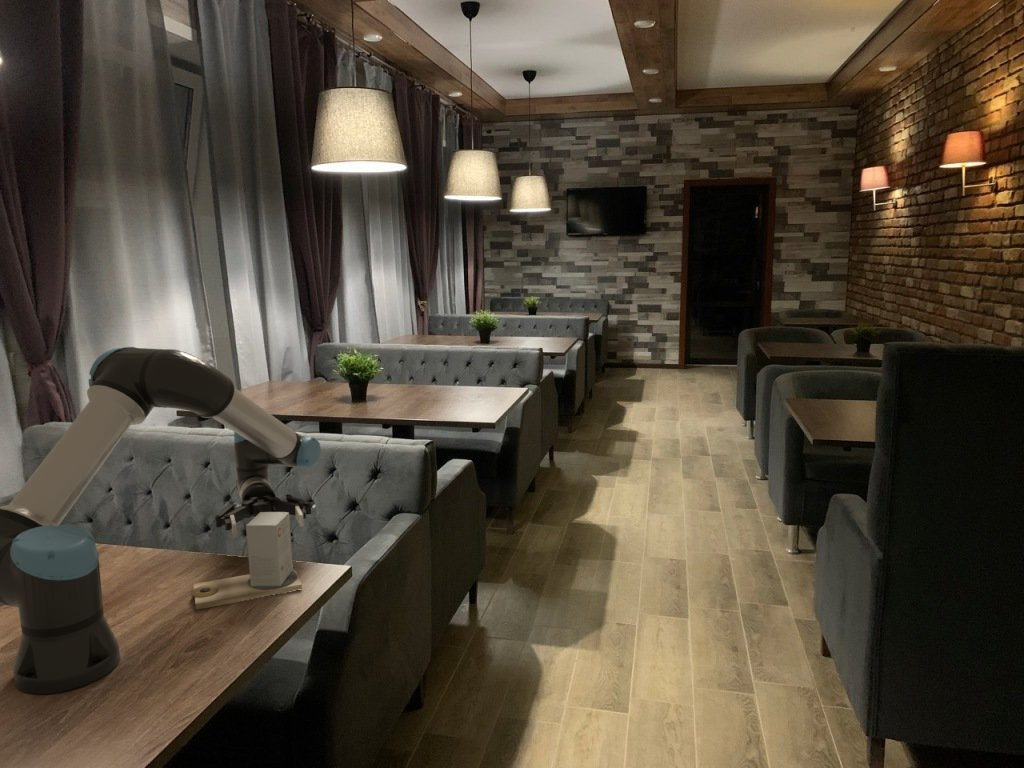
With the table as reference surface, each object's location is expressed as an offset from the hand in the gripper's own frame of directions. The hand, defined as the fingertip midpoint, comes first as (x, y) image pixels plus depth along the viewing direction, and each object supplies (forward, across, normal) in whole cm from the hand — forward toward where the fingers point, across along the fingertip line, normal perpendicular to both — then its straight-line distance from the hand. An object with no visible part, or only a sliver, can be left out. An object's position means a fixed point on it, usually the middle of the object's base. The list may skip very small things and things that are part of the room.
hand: (268, 525), depth 161 cm
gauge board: (+6, +6, -11) cm, 13 cm away
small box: (+6, +1, -10) cm, 11 cm away
